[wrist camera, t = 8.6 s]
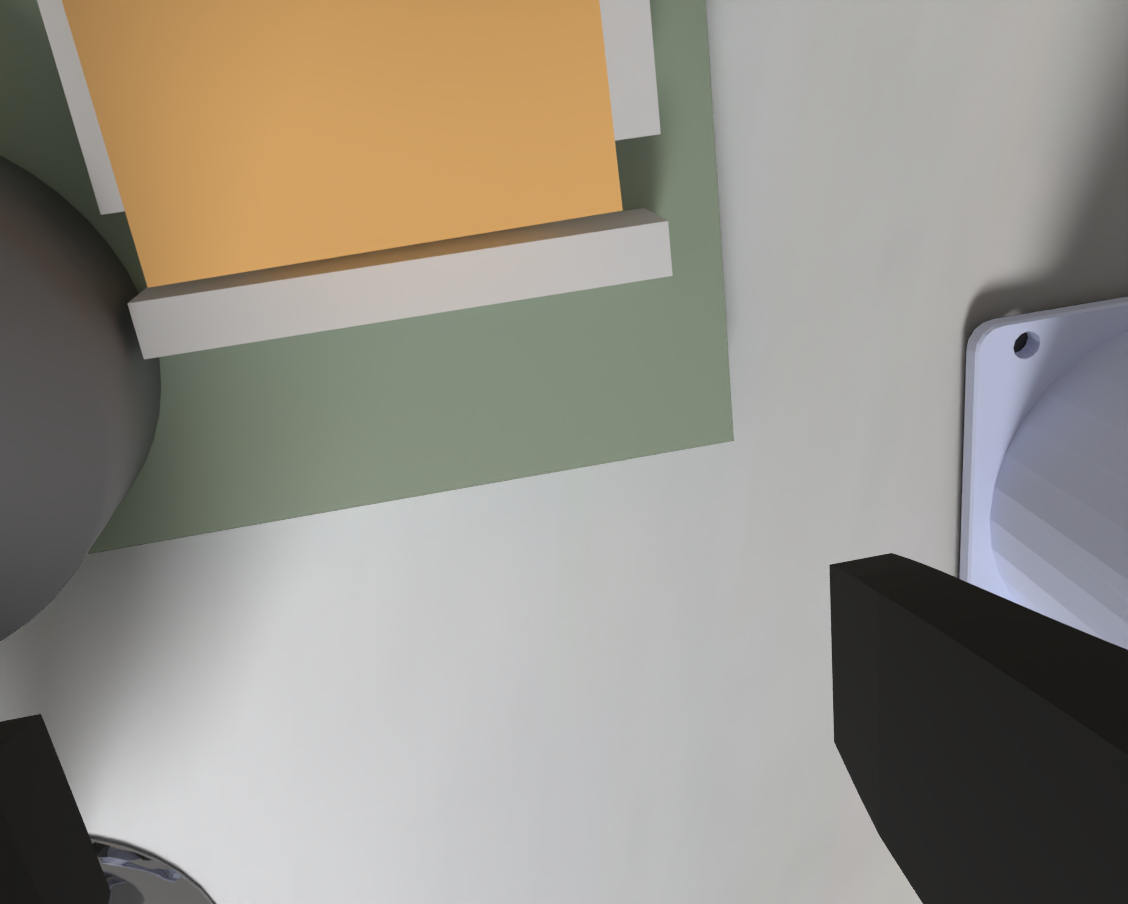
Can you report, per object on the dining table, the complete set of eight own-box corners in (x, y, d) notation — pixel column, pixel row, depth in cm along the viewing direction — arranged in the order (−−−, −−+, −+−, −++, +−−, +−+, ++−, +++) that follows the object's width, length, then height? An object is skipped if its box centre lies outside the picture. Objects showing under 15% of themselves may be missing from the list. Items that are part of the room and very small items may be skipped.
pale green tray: (645, -458, 14) (749, -687, 10) (709, 413, 19) (797, 511, 14) (-608, -349, 12) (-1129, -566, 8) (-182, 566, 17) (-369, 725, 13)
